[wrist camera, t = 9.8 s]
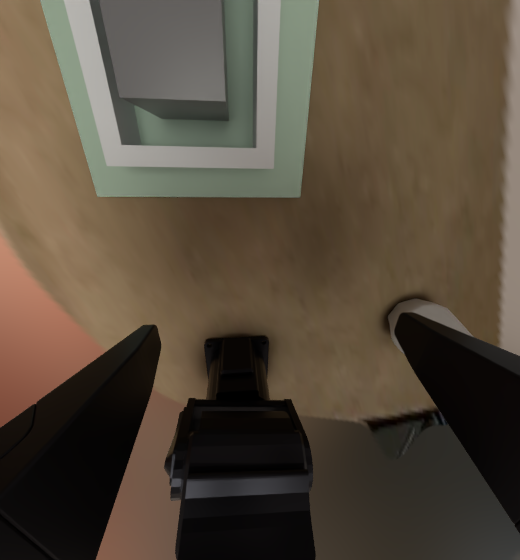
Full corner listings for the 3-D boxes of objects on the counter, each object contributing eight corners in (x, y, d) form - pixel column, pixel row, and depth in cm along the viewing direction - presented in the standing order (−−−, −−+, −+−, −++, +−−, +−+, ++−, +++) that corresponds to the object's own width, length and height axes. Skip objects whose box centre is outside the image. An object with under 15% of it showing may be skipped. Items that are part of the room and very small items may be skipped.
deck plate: (297, 195, 18) (312, 205, 14) (104, 194, 17) (70, 204, 13) (330, -180, 10) (378, -348, 7) (-15, -235, 9) (-169, -477, 6)
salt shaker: (440, 315, 25) (610, 446, 14) (393, 344, 27) (512, 484, 15) (420, 281, 23) (605, 405, 12) (370, 314, 24) (490, 455, 13)
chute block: (228, 120, 15) (225, 101, 9) (162, 118, 14) (119, 97, 9) (221, -54, 11) (211, -238, 6) (135, -63, 11) (42, -267, 6)
